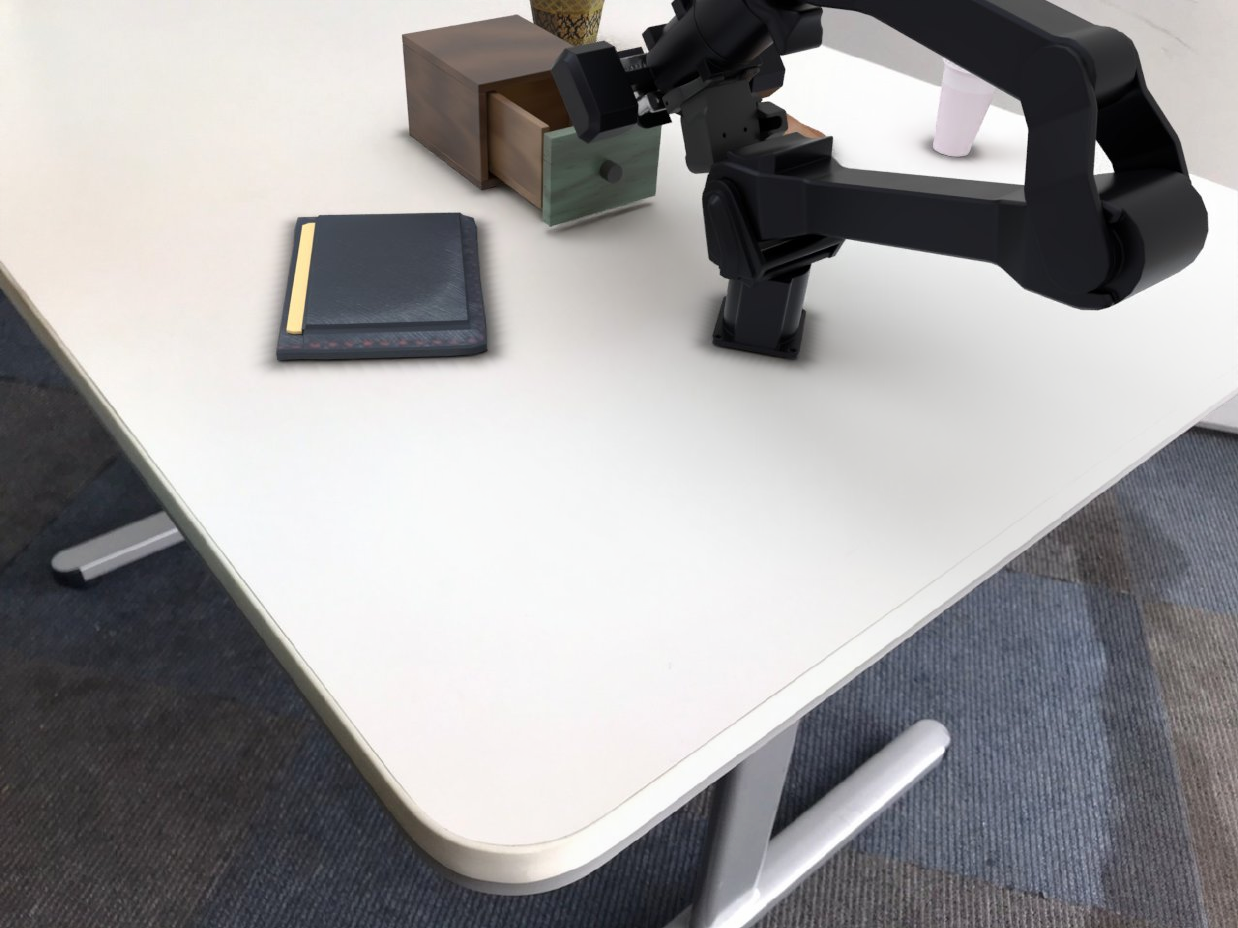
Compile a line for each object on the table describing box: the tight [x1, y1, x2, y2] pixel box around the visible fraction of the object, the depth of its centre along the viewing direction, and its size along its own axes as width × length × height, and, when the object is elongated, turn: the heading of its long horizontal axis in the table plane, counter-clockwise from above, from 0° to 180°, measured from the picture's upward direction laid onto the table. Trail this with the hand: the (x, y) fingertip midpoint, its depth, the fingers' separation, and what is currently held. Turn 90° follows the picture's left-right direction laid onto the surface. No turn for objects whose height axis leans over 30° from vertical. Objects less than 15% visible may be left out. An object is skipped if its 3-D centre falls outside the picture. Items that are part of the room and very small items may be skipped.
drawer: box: [486, 78, 663, 228], centre depth 89 cm, size 14×11×8 cm
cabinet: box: [401, 14, 574, 191], centre depth 96 cm, size 14×13×10 cm
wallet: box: [275, 211, 488, 361], centre depth 79 cm, size 20×2×15 cm
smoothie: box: [932, 57, 998, 158], centre depth 101 cm, size 6×6×14 cm
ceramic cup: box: [529, 0, 606, 46], centre depth 117 cm, size 13×10×10 cm
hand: (621, 123), depth 82 cm, fingers closed
